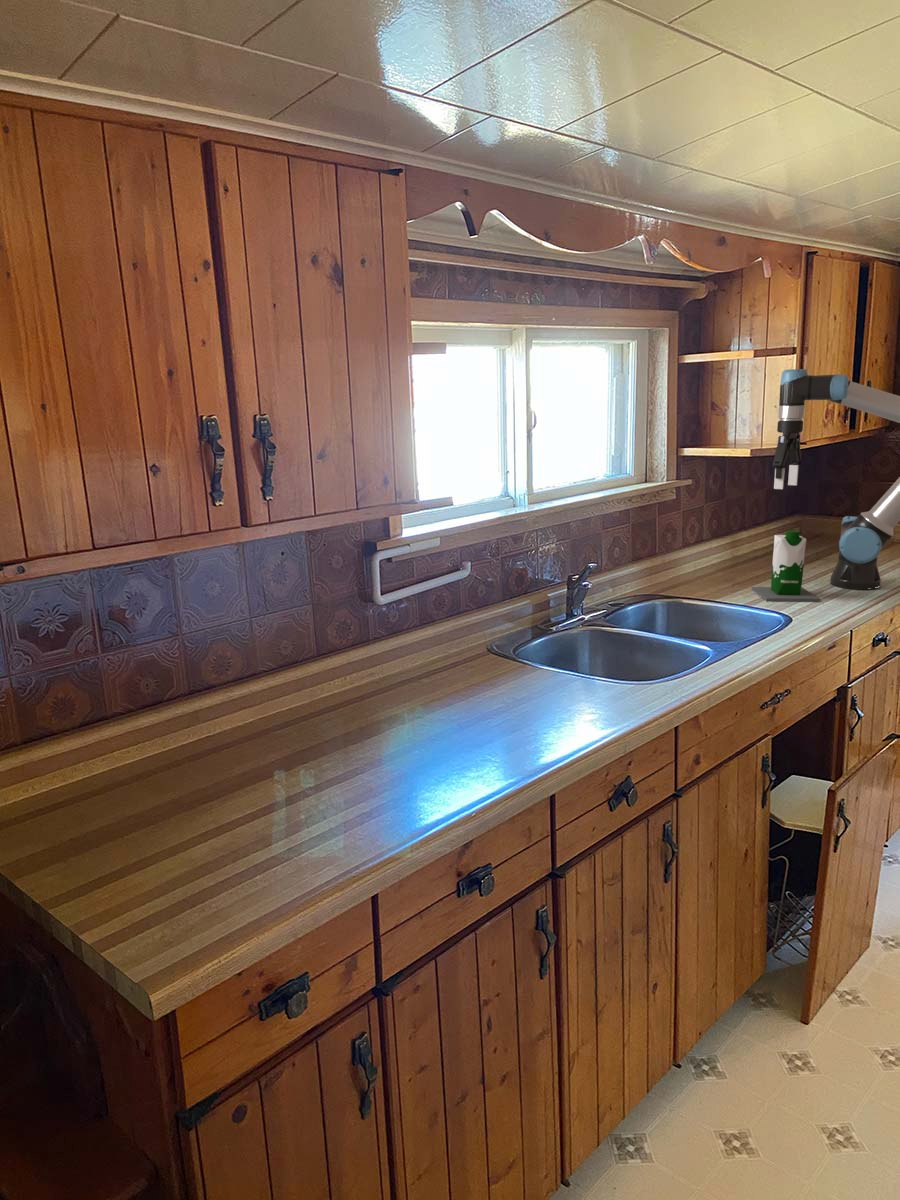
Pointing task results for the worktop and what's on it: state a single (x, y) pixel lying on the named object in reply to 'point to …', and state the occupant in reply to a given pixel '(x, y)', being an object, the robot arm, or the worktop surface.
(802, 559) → the soya milk
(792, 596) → the charcoal mat
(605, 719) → the worktop surface
